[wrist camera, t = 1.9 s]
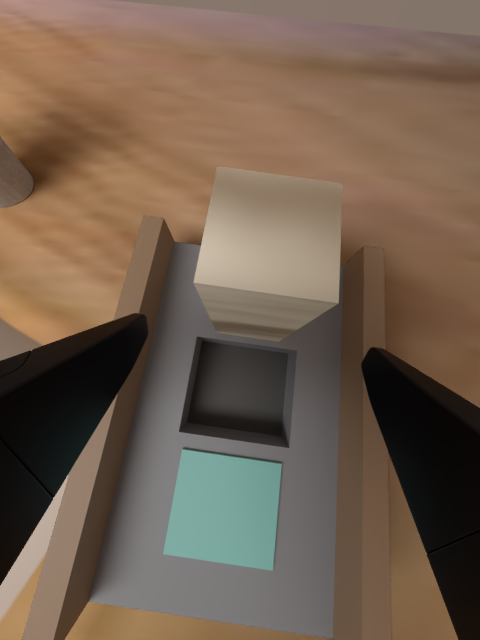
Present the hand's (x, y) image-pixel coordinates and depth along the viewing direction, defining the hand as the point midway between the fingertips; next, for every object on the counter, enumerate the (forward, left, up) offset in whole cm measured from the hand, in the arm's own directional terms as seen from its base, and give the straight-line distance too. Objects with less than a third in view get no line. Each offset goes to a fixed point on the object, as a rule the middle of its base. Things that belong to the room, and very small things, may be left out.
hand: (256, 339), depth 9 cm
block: (+2, +4, -8) cm, 9 cm away
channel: (-2, -3, -11) cm, 12 cm away
